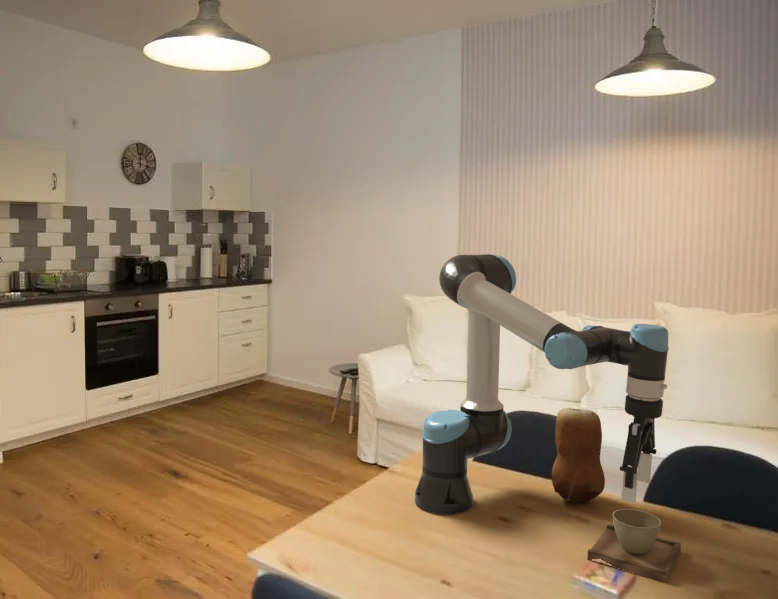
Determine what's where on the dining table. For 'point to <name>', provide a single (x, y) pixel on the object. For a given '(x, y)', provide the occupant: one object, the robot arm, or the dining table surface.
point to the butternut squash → (578, 456)
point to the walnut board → (637, 556)
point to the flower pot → (636, 529)
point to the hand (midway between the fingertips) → (636, 491)
